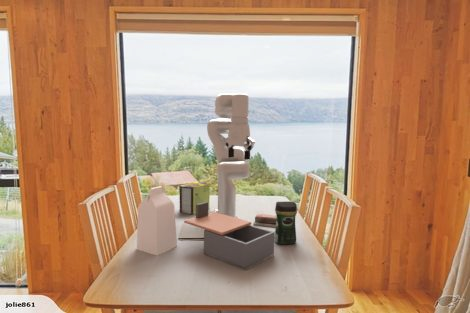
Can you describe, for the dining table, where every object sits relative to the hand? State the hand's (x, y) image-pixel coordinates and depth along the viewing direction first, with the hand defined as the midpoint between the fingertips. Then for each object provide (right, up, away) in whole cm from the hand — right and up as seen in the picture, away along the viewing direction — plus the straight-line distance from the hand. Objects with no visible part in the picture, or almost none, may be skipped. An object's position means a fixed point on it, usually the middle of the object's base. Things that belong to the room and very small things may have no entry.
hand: (239, 158), depth 161 cm
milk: (-35, -38, -13) cm, 53 cm away
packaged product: (+18, -35, +20) cm, 44 cm away
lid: (-9, -28, -13) cm, 32 cm away
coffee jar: (+21, -38, -4) cm, 43 cm away
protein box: (-25, -31, +43) cm, 59 cm away
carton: (0, -39, -19) cm, 44 cm away
